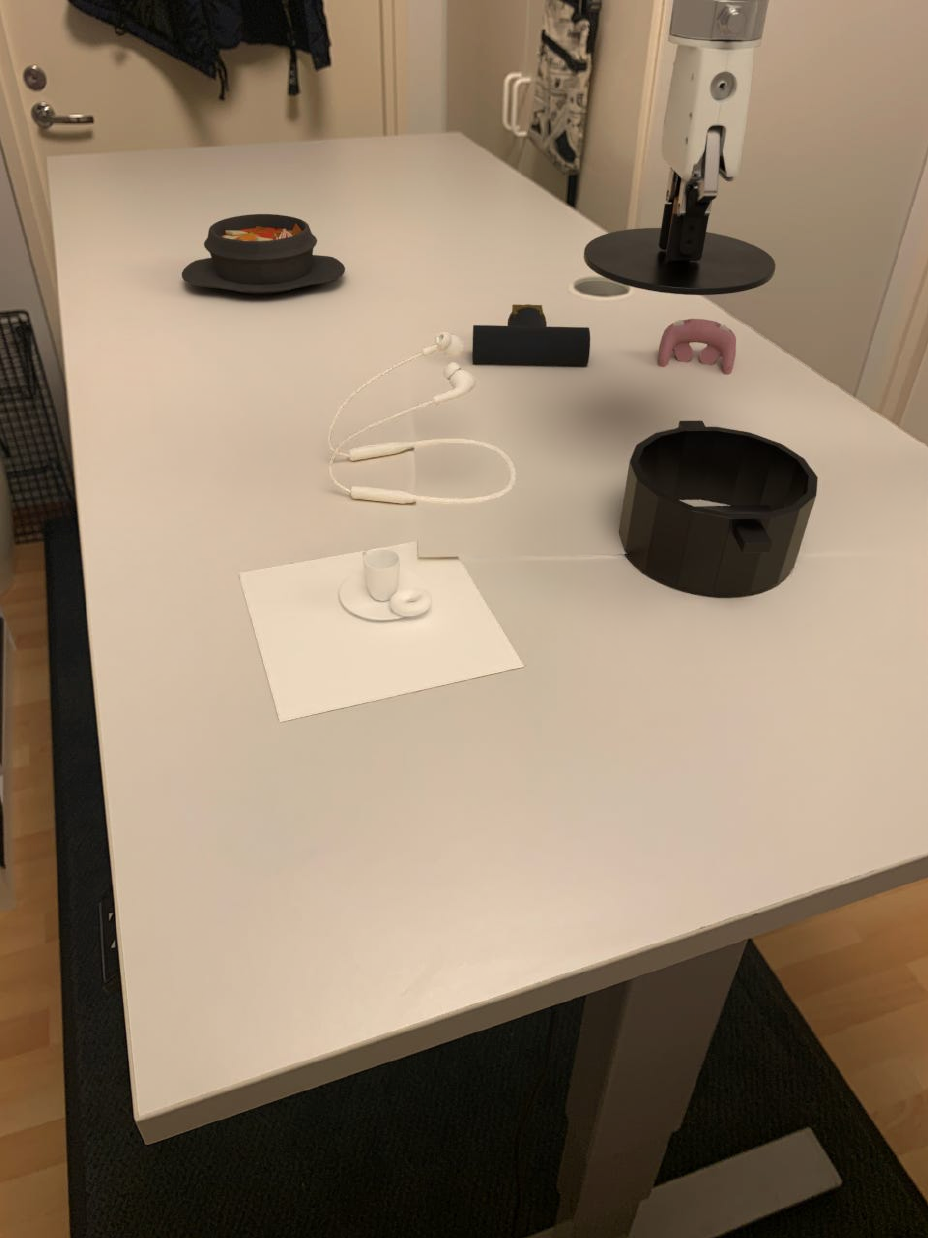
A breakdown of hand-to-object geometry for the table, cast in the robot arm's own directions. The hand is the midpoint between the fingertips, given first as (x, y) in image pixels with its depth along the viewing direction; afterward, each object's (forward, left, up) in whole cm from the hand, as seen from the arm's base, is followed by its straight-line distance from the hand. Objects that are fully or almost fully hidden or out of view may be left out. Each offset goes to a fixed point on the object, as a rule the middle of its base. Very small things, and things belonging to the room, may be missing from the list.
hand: (679, 252), depth 86 cm
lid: (0, 0, -1) cm, 1 cm away
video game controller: (-13, -27, -23) cm, 38 cm away
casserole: (+47, -59, -23) cm, 79 cm away
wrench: (-3, +15, -22) cm, 27 cm away
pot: (-3, +15, -23) cm, 28 cm away
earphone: (+24, +1, -23) cm, 34 cm away
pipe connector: (+9, -31, -23) cm, 40 cm away
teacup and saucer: (+29, +25, -23) cm, 45 cm away
